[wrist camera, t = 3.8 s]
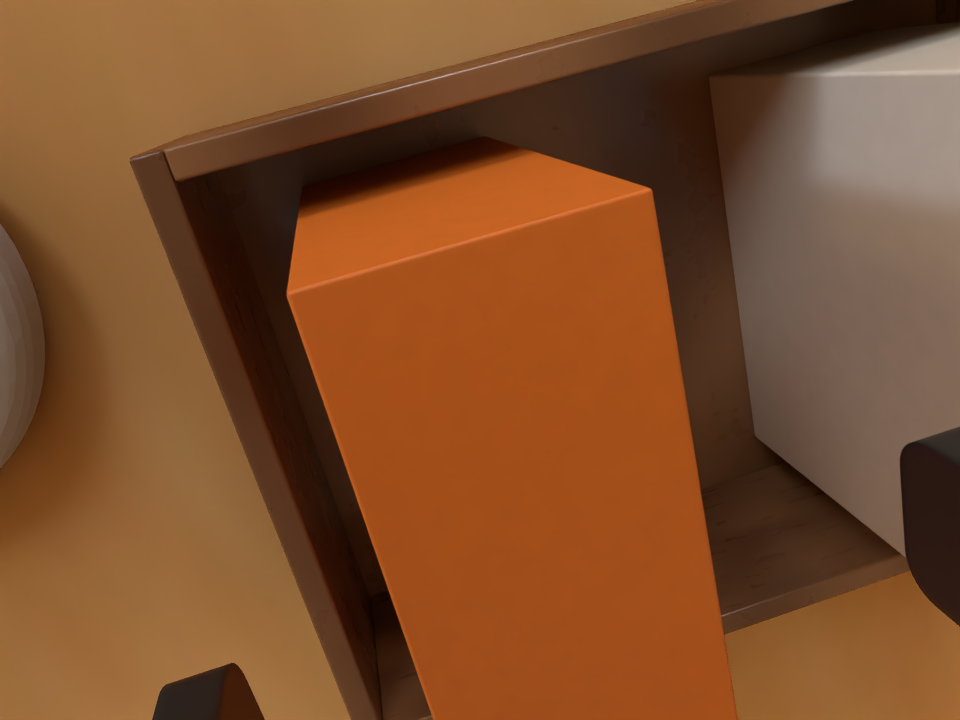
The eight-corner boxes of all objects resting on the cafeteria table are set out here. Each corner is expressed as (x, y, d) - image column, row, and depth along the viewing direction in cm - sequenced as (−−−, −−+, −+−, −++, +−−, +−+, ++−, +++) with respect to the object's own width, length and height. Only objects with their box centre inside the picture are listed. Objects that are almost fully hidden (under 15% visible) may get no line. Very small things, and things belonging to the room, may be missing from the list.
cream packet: (753, 436, 21) (1053, 679, 12) (706, 74, 17) (1070, 68, 9) (894, 391, 21) (1278, 596, 13) (874, 29, 18) (1374, -19, 9)
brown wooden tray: (355, 606, 20) (365, 760, 16) (181, 136, 16) (126, 158, 12) (950, 412, 22) (1118, 499, 17) (938, -63, 18) (1156, -115, 13)
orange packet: (416, 544, 20) (489, 885, 11) (301, 186, 16) (284, 292, 8) (570, 495, 20) (750, 789, 12) (486, 135, 17) (653, 187, 8)
